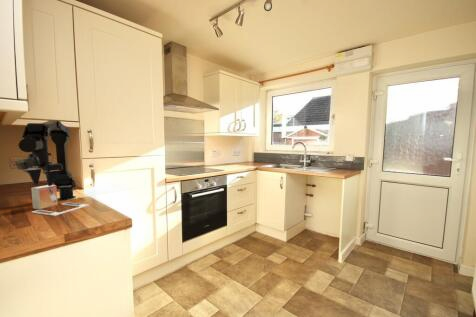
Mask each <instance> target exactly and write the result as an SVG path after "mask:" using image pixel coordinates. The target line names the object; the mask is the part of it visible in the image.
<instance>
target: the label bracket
mask: <svg viewBox="0 0 476 317" xmlns="http://www.w3.org/2000/svg"><path fill="white" fill-rule="evenodd" d="M61 205H62V206H68V207H69V206H70V207H71V206H72V207H73V208H71V209H67V210H63V211H61V212H58V211H49V210H44V209H36V210H34V211H31V212H30V213H32V214H37V215H38V214H39V215H45V216H46V215H47V216H54V217H57V216H59V215H62V214H66V213H69V212H72V211H75V210H79V209H82V208H85V207H88V206H90V204H87V203H76V202H63V203H61Z"/></svg>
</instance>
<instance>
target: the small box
mask: <svg viewBox="0 0 476 317" xmlns="http://www.w3.org/2000/svg"><path fill="white" fill-rule="evenodd" d="M30 190H31V198H32V199H31V200H32V201H31V202H32V203H31V204H32V209H36V210H44V209H46V208H50V207H51V208H52V207H55V205H56V206H58V199H57V198H58V192H57V190H58V189H56V185H54V184H52V186H48V184H46V185H40V186H35V187H31V189H30Z"/></svg>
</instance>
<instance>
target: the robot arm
mask: <svg viewBox="0 0 476 317" xmlns="http://www.w3.org/2000/svg"><path fill="white" fill-rule="evenodd" d="M49 136H50V137H49ZM48 137H49V138H51V141H52V142H53V144H54V145H55V156H56V163H55V162H54V163H52V161H50V156H52V153H51V152H49V143H48V141H49V139H48ZM70 137H71V131H70V129H69V128H68V126H66V125H64V124H63V123H62V122H61V121H60V120H54V119H53V120H47V121H45V122H28V123H27V124H26V125H25V126H24V130H23V132H22V136H21V138H22V139H21V140H20V141H19V142H18V148H19V149H20V151H22V152H24V153H28V157H26V158H23V159H20V160H17V161H15V162H14V165H15V166H16V167H17V169H18V170H20V171H22V172H24V173H26V174H28V175H29V177H30V179H31V181H32V183H33V184H34V185H35V186H38V184H39V181H40V177H41V174H42V173H43V175H45V178H46V183H47V185H48V186H52V185H56V190H58V193H59V197H57V200H59V201H60V200H62V201H66V200H70V199H74V198H75V199H76V196H77V195H76V196H75V195H74V190H73V189H74V188H76V187H77V184H76V181H75V179H74V177H73V174H72V173H71V171H70V170H69V166H68V165H69V162H68V149H67V148H68V147H67V144H68V143H69V142H70Z"/></svg>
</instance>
